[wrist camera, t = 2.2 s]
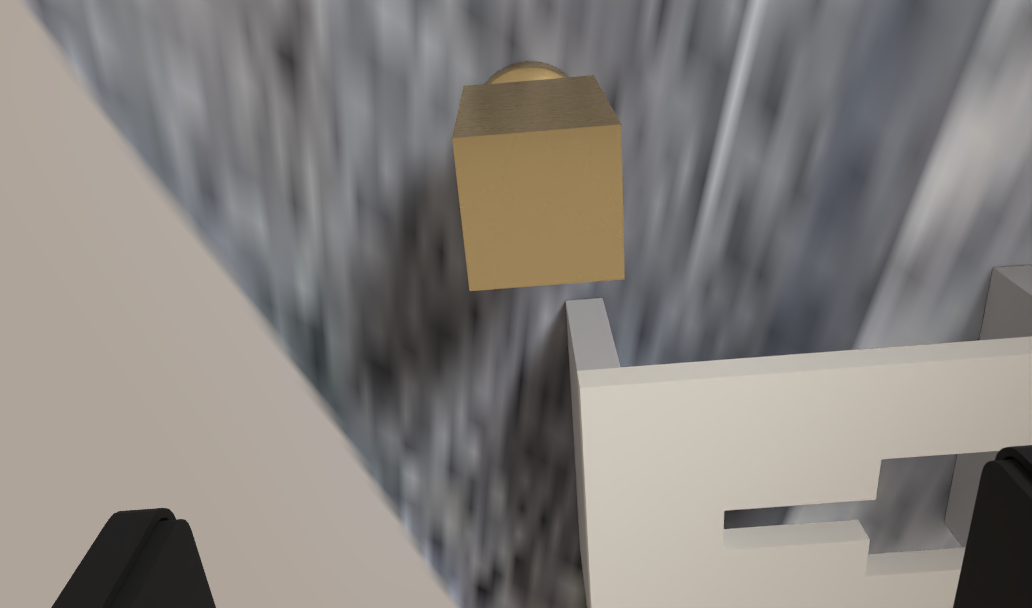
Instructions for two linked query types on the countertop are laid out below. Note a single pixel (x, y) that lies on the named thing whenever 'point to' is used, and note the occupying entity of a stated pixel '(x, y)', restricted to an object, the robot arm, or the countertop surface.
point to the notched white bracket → (783, 461)
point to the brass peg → (539, 179)
